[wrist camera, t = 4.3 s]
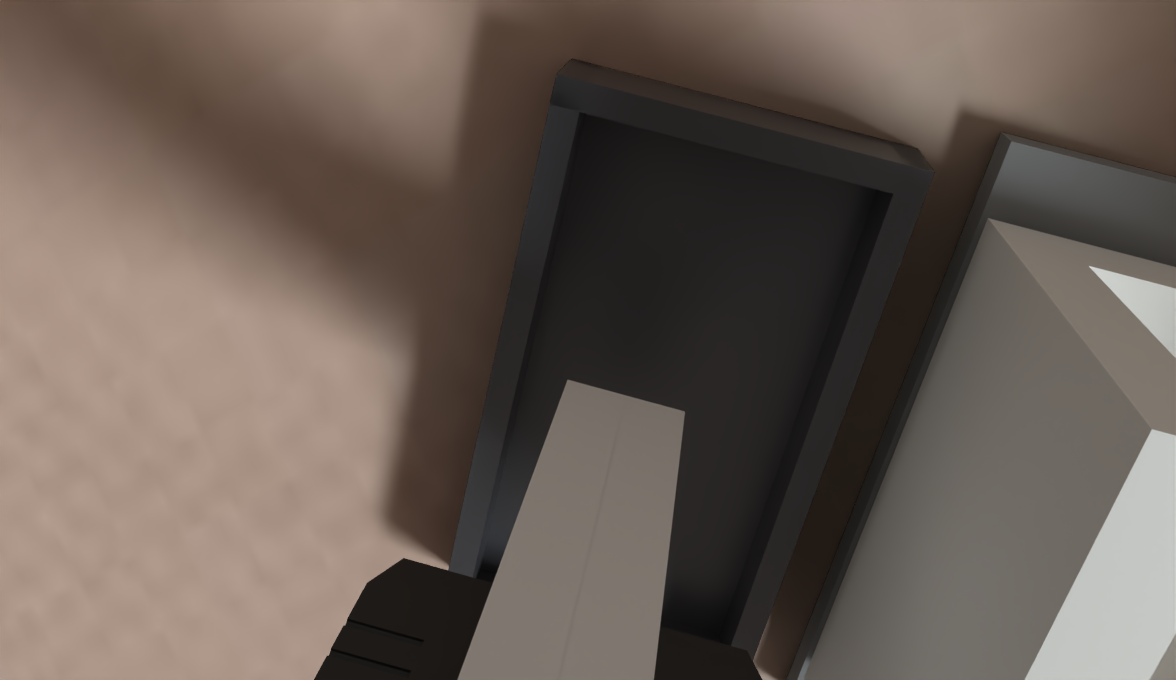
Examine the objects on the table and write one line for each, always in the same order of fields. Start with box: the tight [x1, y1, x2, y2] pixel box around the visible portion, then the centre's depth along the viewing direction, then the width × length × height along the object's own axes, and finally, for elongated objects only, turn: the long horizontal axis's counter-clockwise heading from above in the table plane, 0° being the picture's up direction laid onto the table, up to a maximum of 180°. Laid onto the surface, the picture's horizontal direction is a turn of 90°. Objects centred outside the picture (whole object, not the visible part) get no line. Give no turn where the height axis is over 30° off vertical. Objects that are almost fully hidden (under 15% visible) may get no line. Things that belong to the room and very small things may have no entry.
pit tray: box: [448, 59, 935, 661], centre depth 16 cm, size 5×9×1 cm, turn 167°
